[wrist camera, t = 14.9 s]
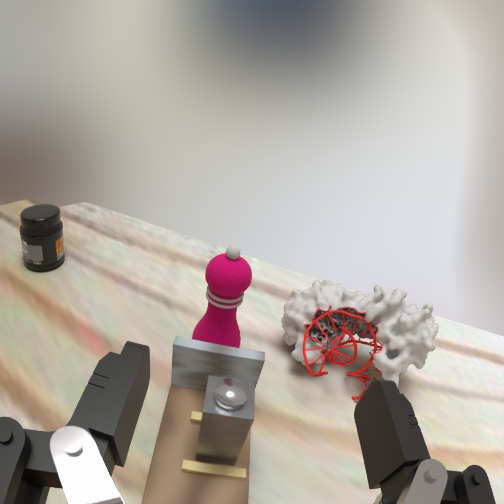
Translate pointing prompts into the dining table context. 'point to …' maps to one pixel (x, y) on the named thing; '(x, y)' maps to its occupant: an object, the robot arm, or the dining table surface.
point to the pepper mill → (224, 298)
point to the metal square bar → (225, 420)
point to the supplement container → (42, 237)
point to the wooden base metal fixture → (198, 428)
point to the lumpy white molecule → (358, 328)
